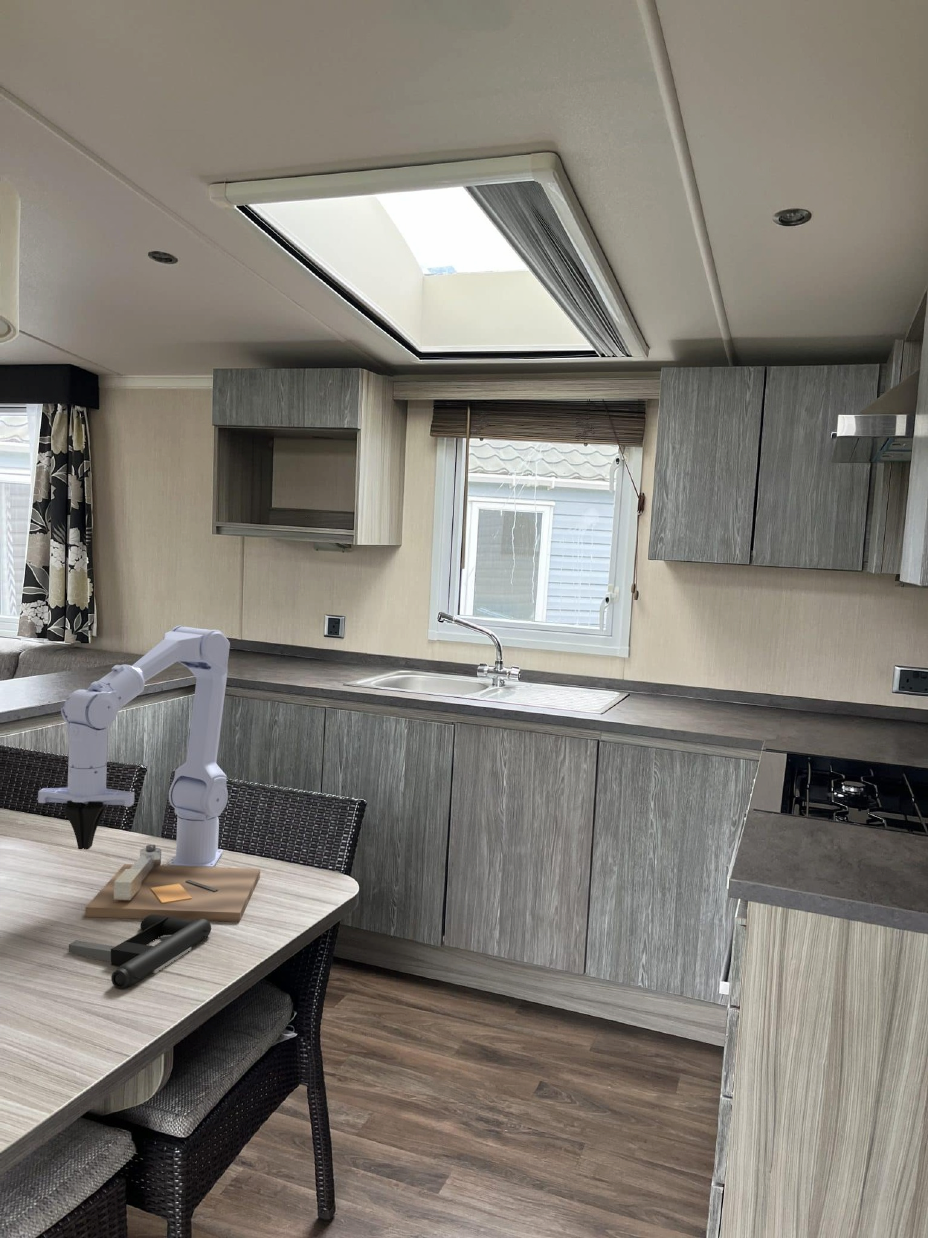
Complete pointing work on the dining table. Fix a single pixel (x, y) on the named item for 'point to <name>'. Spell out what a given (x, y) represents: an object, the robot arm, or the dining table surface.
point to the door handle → (146, 947)
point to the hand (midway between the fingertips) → (85, 847)
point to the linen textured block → (136, 873)
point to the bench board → (181, 894)
